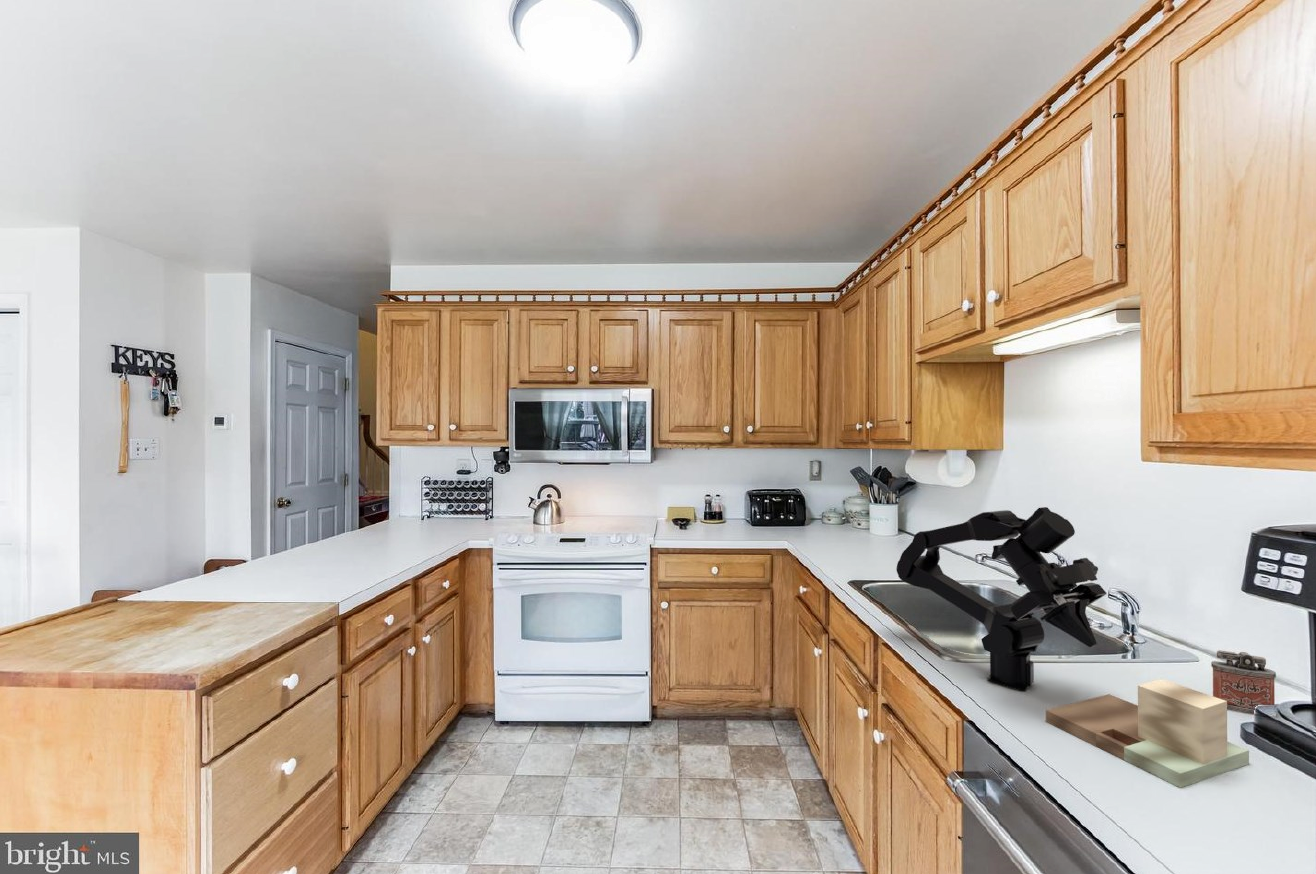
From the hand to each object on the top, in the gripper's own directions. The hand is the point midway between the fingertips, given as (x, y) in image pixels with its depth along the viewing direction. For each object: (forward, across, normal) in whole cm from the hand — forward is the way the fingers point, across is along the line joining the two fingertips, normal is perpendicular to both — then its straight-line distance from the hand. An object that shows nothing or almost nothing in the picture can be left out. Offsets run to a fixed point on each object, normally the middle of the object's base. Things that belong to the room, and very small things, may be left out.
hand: (1093, 645), depth 96 cm
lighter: (+15, +28, +3) cm, 31 cm away
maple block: (+16, -1, -2) cm, 16 cm away
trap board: (+14, 0, +4) cm, 14 cm away
